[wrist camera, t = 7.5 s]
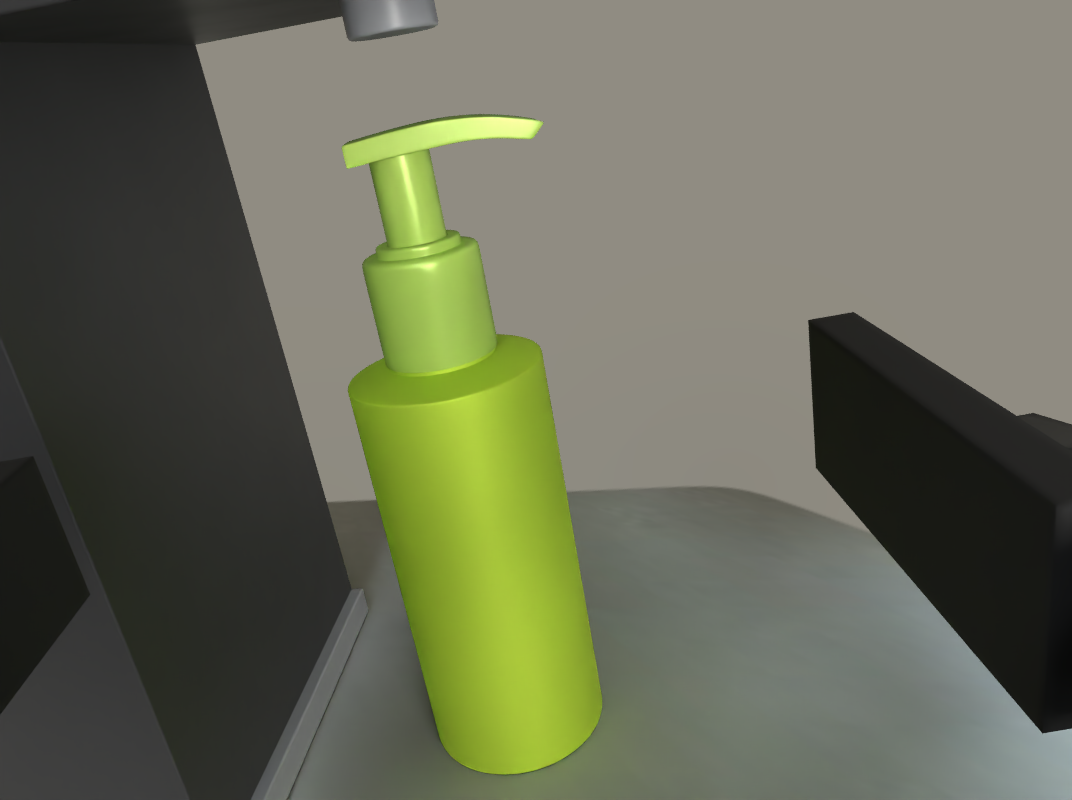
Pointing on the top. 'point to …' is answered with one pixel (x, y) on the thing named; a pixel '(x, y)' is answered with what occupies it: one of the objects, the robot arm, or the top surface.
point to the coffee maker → (159, 413)
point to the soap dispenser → (470, 476)
